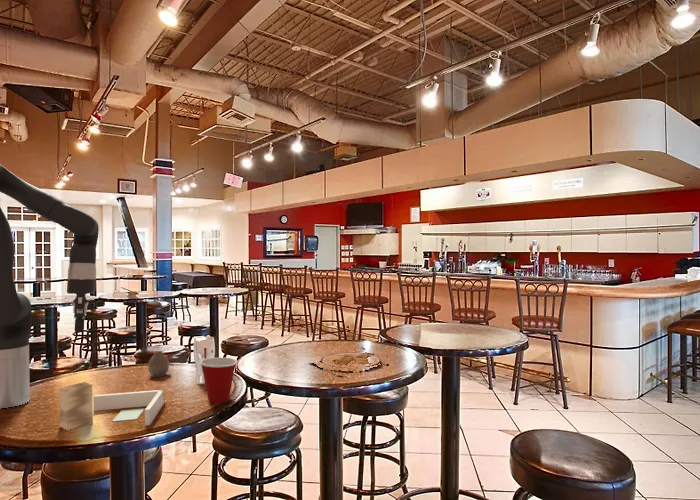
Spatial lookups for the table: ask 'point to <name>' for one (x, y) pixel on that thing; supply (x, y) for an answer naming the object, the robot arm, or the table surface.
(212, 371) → the plastic cup
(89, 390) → the maple block
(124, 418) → the corner arena
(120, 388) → the table surface
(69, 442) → the table surface
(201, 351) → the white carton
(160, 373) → the vase
